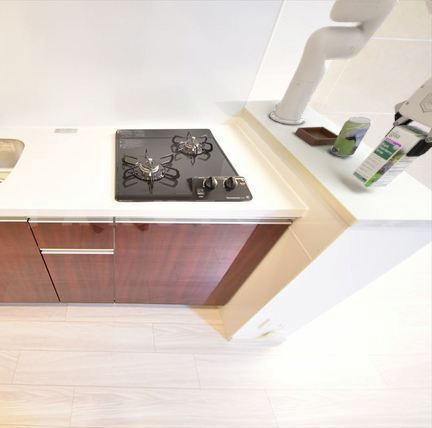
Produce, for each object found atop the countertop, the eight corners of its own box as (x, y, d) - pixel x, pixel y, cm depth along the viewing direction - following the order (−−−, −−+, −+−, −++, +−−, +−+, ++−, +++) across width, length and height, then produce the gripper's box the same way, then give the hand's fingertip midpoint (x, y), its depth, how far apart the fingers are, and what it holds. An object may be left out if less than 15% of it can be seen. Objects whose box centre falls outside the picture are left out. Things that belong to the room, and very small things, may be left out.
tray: (294, 133, 90) (298, 127, 88) (319, 132, 90) (323, 126, 89) (311, 145, 83) (316, 139, 81) (338, 144, 83) (343, 138, 82)
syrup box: (349, 175, 65) (394, 125, 54) (369, 174, 65) (417, 124, 54) (366, 188, 61) (418, 136, 50) (387, 186, 61) (443, 135, 50)
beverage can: (354, 159, 76) (384, 124, 68) (330, 157, 77) (356, 122, 69) (345, 150, 80) (371, 115, 72) (321, 148, 82) (345, 114, 73)
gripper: (420, 52, 49) (356, 133, 62) (527, 76, 37) (419, 170, 50) (453, 51, 49) (382, 132, 62) (570, 74, 37) (452, 168, 50)
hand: (400, 148), depth 56 cm, fingers closed on syrup box, 5 cm apart
